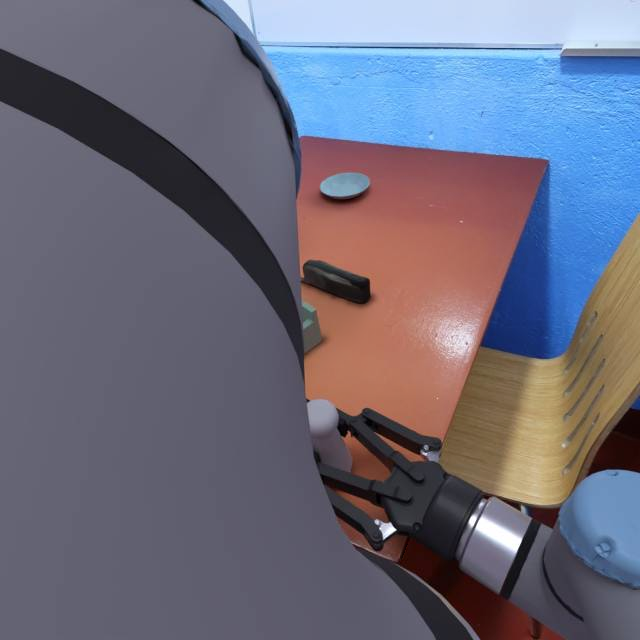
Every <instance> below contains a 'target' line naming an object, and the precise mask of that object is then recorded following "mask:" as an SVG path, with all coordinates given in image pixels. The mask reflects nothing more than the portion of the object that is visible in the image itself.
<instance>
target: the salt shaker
mask: <svg viewBox="0 0 640 640" xmlns="http://www.w3.org/2000/svg"><path fill="white" fill-rule="evenodd" d="M335 407H336V406H335V404H334V403H333V402H331V401H330V400H329V399H324V398H315V399H314V398H313V399H310V402H308V403H307V409H308V416H309V424H310V431H311V439H312V447H313V451H315V452H317V453H318V454H319V456H320V461H321V463H323V464H326V465H329V466H332V467H335V468H338V469H341V470H343V471H346V472H349V473H352V467H353V460H354V458H353V455H352V453H351V451H350V449H349V448H348V446H347V444H346V442H345V440H344V439H343V438H344V437H342V436H341V435H340V433H339V431H338V429H337V426H338V420H339V415H338V412H337V410H336V408H337V407H336V408H335ZM325 486H326V485H325ZM327 487H328V488H330V487H329V486H327Z"/></svg>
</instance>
